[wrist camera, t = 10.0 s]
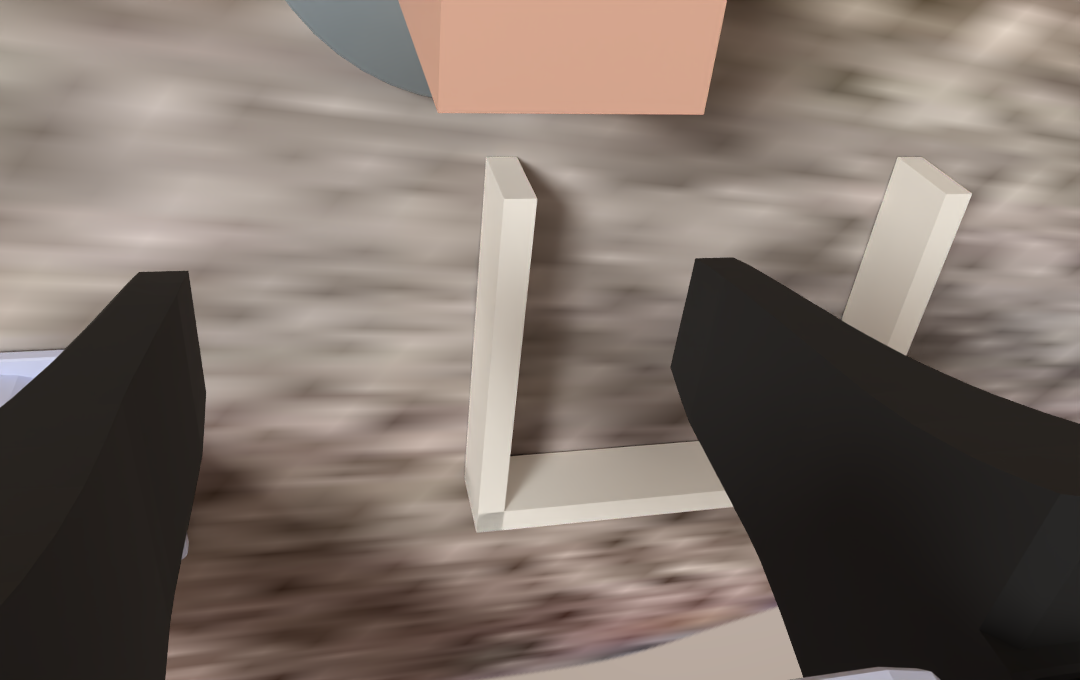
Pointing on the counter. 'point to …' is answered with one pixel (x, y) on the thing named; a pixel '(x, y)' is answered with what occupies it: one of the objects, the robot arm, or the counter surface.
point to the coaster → (367, 38)
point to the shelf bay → (675, 468)
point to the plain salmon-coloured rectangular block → (566, 54)
